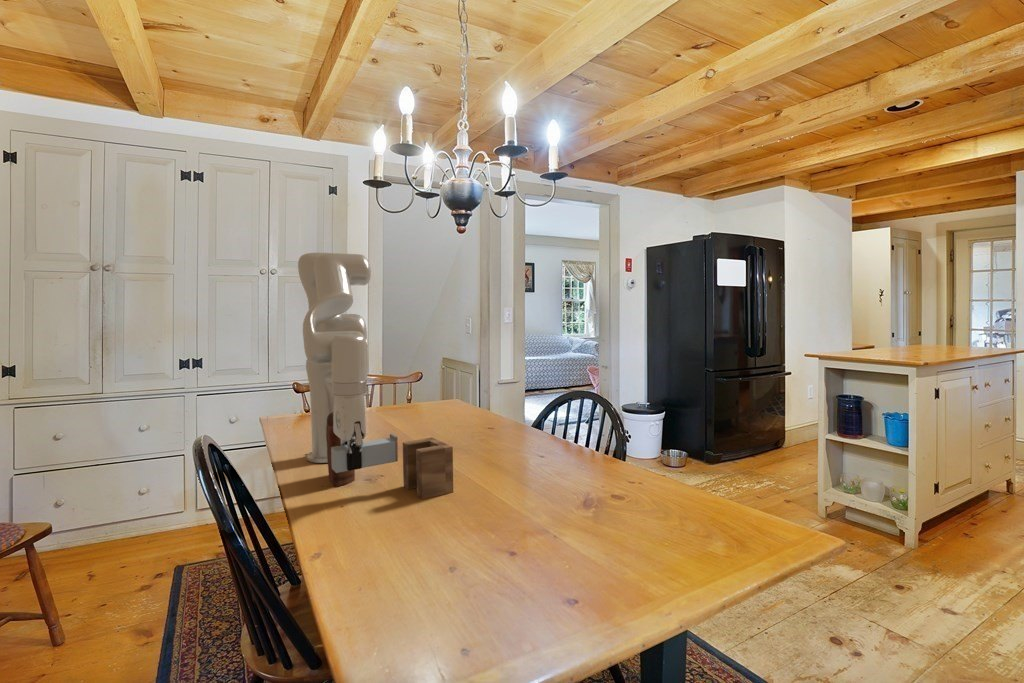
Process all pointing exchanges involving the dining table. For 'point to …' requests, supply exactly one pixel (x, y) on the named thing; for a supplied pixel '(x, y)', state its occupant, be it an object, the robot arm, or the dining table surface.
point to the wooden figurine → (332, 441)
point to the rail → (367, 453)
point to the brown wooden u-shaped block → (428, 467)
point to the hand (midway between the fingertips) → (351, 465)
